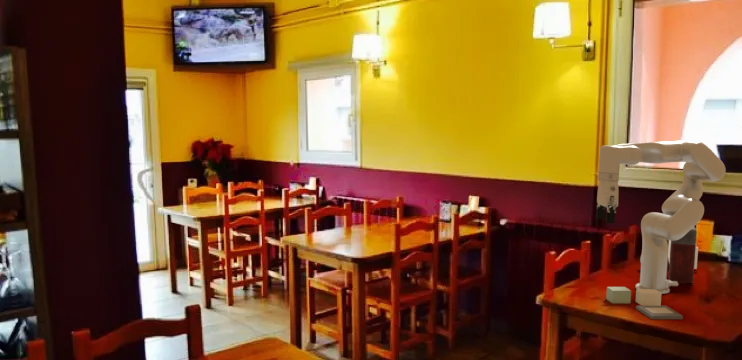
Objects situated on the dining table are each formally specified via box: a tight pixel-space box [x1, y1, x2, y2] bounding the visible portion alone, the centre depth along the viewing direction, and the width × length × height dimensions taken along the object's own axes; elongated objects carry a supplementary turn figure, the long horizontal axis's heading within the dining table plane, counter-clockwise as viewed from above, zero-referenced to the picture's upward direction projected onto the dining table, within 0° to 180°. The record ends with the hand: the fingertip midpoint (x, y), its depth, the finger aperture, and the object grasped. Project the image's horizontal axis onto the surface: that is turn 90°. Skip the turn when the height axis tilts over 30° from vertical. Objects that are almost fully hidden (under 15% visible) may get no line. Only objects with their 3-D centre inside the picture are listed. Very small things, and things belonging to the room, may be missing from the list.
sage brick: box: [606, 286, 632, 304], centre depth 221 cm, size 7×5×5 cm
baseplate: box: [635, 305, 684, 320], centre depth 207 cm, size 11×11×1 cm
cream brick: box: [635, 288, 663, 306], centre depth 218 cm, size 7×5×5 cm
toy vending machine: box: [667, 226, 698, 284], centre depth 251 cm, size 9×11×28 cm
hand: (605, 220), depth 228 cm, fingers open, 9 cm apart
